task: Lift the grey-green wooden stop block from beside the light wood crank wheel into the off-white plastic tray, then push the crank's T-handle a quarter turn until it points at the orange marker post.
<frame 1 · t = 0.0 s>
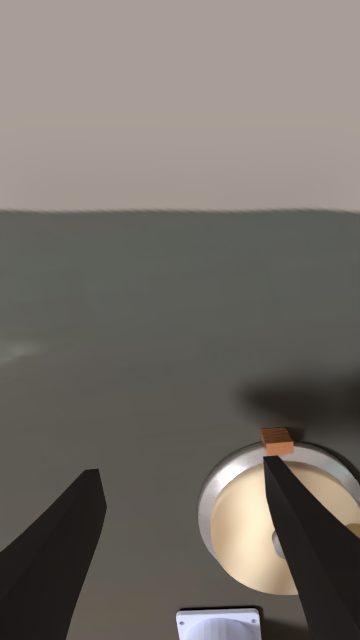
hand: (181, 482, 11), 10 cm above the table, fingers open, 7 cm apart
crank base: (277, 509, 24), on the table
crank: (293, 554, 20), point 4 cm above the table, hinge at -90.0°
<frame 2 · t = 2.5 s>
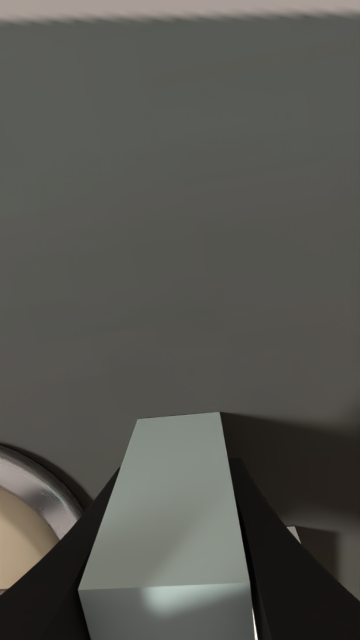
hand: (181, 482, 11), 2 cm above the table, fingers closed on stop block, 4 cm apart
stop block: (183, 451, 13), on the table, touching gripper
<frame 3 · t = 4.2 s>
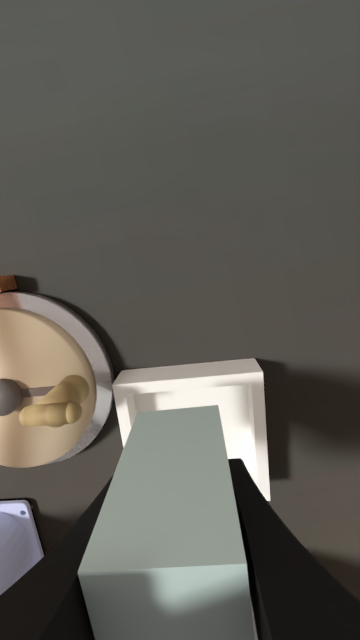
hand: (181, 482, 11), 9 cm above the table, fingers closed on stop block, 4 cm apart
crank base: (27, 379, 21), on the table
tray: (193, 423, 21), on the table
stop block: (182, 444, 13), point 7 cm above the table, touching gripper
when the fingers open (4 cm above the table, at t = 5.9 s): stop block drops 1 cm, resting on tray.
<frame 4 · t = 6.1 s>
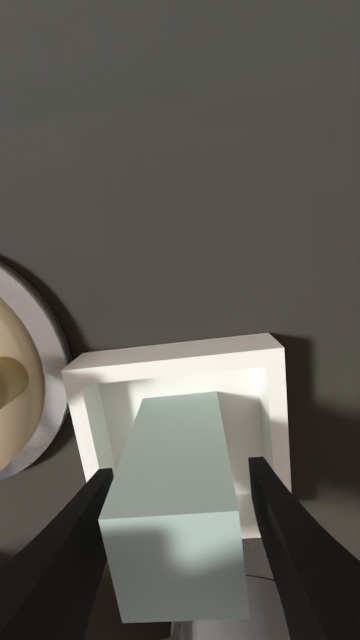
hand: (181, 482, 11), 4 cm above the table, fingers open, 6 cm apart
coffee mug: (222, 614, 19), on the table
tray: (184, 426, 15), on the table
stop block: (184, 427, 15), point 1 cm above the table, touching tray
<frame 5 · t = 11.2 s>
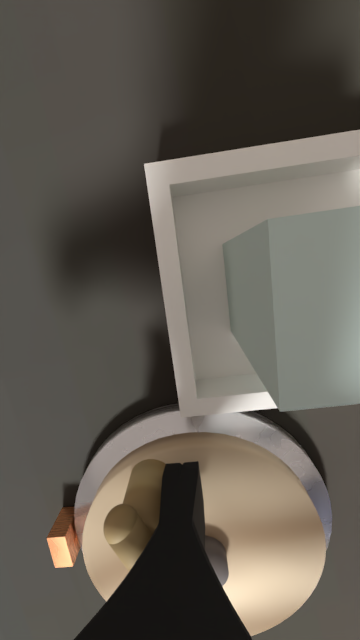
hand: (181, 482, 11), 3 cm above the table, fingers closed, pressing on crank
crank base: (200, 510, 16), on the table
crank: (203, 585, 12), point 4 cm above the table, hinge at -68.9°, touching gripper
tray: (274, 282, 13), on the table
stop block: (270, 283, 12), point 1 cm above the table, touching tray
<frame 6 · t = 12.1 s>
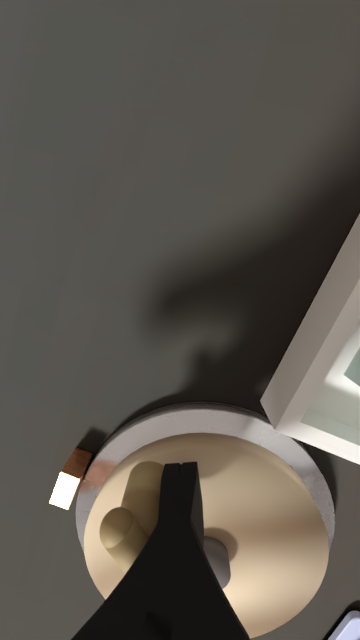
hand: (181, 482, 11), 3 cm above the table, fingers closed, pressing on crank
crank base: (201, 511, 16), on the table
crank: (205, 587, 12), point 4 cm above the table, hinge at -36.7°, touching gripper
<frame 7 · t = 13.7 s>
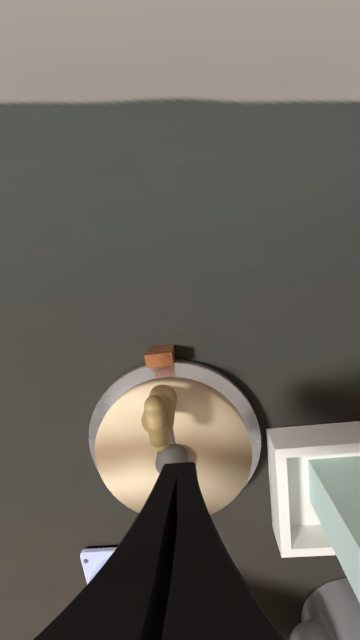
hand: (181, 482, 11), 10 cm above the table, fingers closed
coffee mug: (338, 604, 26), on the table
crank base: (174, 436, 23), on the table
crank: (171, 470, 19), point 4 cm above the table, hinge at 0.2°
tray: (329, 476, 23), on the table
stop block: (333, 478, 22), point 1 cm above the table, touching tray
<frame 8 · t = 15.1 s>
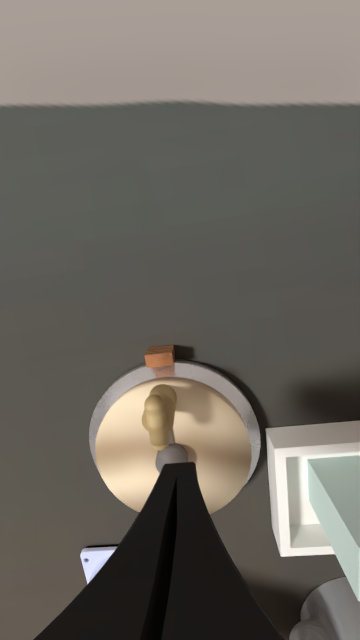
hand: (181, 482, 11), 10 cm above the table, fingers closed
coffee mug: (337, 603, 26), on the table
crank base: (174, 436, 23), on the table
crank: (171, 469, 19), point 4 cm above the table, hinge at 0.2°
tray: (328, 475, 23), on the table
stop block: (332, 478, 22), point 1 cm above the table, touching tray
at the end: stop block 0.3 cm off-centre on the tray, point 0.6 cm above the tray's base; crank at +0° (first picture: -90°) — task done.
